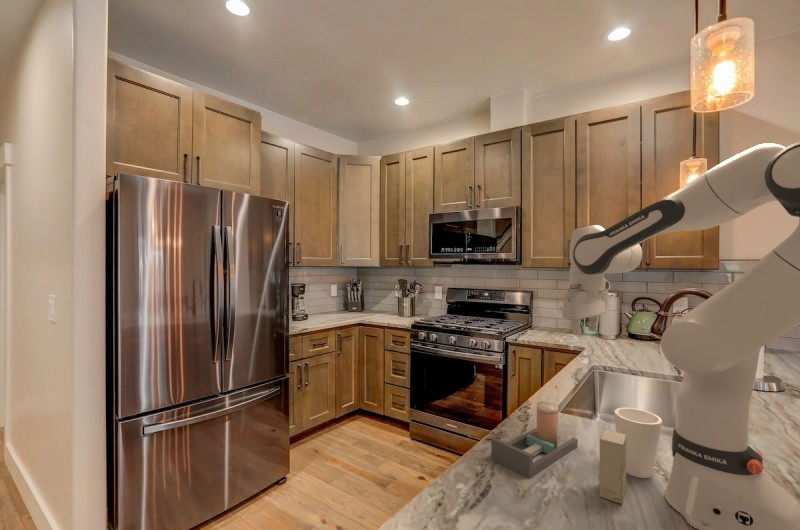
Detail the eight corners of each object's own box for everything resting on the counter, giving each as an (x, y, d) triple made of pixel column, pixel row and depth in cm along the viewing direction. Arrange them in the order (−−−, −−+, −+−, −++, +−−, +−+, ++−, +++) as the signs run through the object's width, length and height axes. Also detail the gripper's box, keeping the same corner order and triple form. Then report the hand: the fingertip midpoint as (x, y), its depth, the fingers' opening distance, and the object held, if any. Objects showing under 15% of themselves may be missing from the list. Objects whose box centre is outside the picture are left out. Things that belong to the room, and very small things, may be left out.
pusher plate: (528, 443, 99) (528, 434, 99) (554, 454, 93) (554, 444, 93) (513, 451, 94) (513, 442, 94) (539, 463, 89) (539, 453, 89)
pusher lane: (540, 432, 106) (541, 414, 106) (577, 446, 98) (577, 428, 98) (491, 459, 91) (491, 438, 91) (529, 478, 83) (529, 456, 83)
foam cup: (637, 484, 82) (639, 426, 81) (604, 462, 90) (605, 409, 90) (670, 478, 84) (672, 421, 84) (634, 457, 93) (636, 406, 93)
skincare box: (622, 505, 75) (624, 445, 74) (597, 496, 77) (599, 438, 77) (626, 490, 80) (627, 434, 79) (602, 482, 82) (604, 428, 82)
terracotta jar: (561, 447, 97) (562, 406, 97) (551, 454, 94) (552, 411, 94) (542, 439, 102) (543, 399, 101) (531, 445, 98) (532, 404, 98)
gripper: (580, 285, 95) (579, 339, 95) (612, 283, 108) (611, 330, 108) (556, 284, 100) (555, 335, 100) (590, 282, 113) (589, 327, 113)
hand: (585, 332), depth 104 cm, fingers open, 8 cm apart
